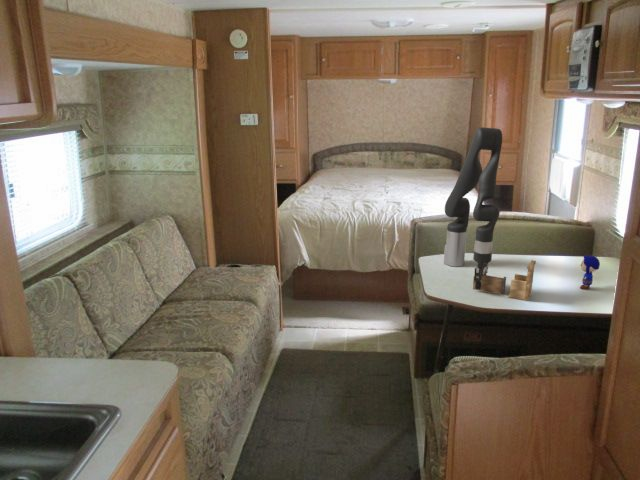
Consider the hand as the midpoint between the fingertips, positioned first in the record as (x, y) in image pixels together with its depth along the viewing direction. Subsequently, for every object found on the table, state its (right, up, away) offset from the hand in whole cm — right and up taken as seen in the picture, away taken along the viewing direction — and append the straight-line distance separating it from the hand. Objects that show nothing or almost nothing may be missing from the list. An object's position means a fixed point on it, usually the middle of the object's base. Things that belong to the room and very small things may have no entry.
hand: (480, 286), depth 238 cm
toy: (+47, -1, 0) cm, 47 cm away
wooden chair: (+14, -3, -8) cm, 16 cm away
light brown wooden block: (+3, -2, -1) cm, 4 cm away
